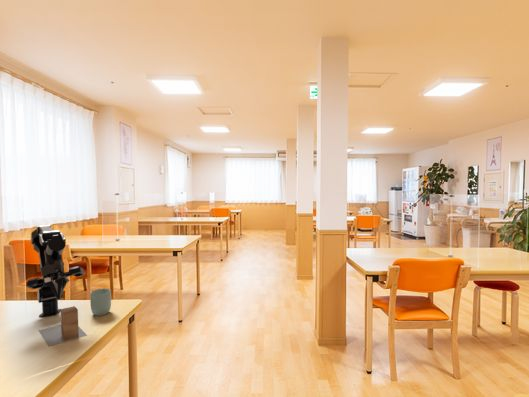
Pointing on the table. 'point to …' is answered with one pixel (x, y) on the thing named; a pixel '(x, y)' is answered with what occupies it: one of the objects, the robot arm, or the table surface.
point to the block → (69, 323)
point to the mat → (57, 335)
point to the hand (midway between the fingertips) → (59, 299)
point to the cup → (100, 301)
